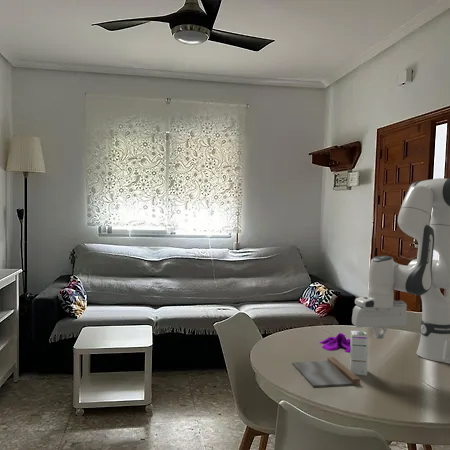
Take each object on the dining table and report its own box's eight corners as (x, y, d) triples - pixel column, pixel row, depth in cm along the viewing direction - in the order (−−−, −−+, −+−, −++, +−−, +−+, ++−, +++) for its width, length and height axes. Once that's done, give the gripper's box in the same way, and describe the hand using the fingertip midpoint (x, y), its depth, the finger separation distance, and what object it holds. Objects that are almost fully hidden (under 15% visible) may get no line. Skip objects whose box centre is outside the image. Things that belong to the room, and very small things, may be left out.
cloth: (363, 342, 203) (363, 328, 203) (366, 355, 185) (367, 340, 184) (312, 338, 208) (312, 325, 207) (311, 351, 190) (311, 336, 189)
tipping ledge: (333, 362, 175) (333, 357, 174) (359, 384, 153) (360, 378, 153) (292, 363, 172) (292, 358, 172) (313, 387, 150) (313, 381, 150)
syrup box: (367, 375, 161) (368, 335, 161) (350, 374, 162) (351, 334, 162) (365, 370, 167) (367, 331, 166) (349, 368, 168) (350, 330, 167)
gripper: (402, 298, 170) (400, 335, 170) (350, 299, 166) (349, 336, 167) (411, 302, 163) (410, 340, 164) (358, 303, 160) (357, 341, 160)
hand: (379, 338), depth 165 cm, fingers closed
